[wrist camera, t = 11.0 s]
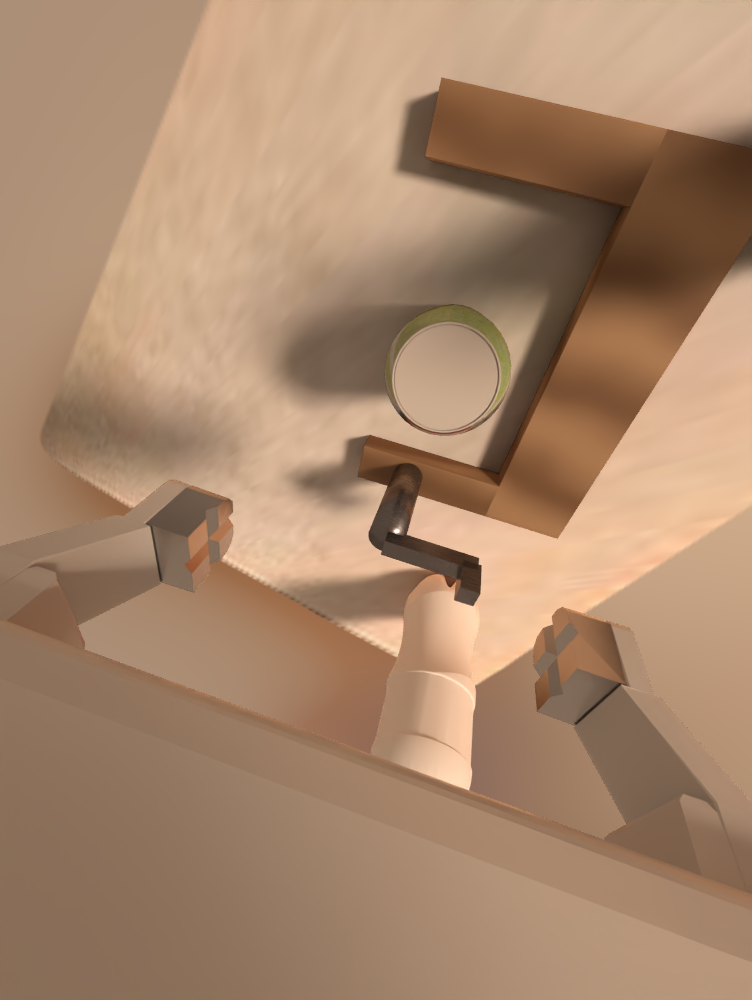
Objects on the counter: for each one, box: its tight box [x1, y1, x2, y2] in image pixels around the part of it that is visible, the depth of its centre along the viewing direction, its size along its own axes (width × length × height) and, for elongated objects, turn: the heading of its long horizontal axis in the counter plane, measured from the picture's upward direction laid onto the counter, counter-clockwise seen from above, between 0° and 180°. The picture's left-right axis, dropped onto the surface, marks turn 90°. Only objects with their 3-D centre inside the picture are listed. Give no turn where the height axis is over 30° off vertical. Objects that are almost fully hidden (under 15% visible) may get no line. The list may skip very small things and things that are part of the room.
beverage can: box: [385, 305, 511, 436], centre depth 24 cm, size 6×7×12 cm
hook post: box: [369, 463, 482, 606], centre depth 29 cm, size 2×7×13 cm, turn 79°
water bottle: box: [371, 574, 479, 790], centre depth 32 cm, size 7×7×25 cm
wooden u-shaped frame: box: [358, 78, 752, 539], centre depth 27 cm, size 24×17×2 cm
